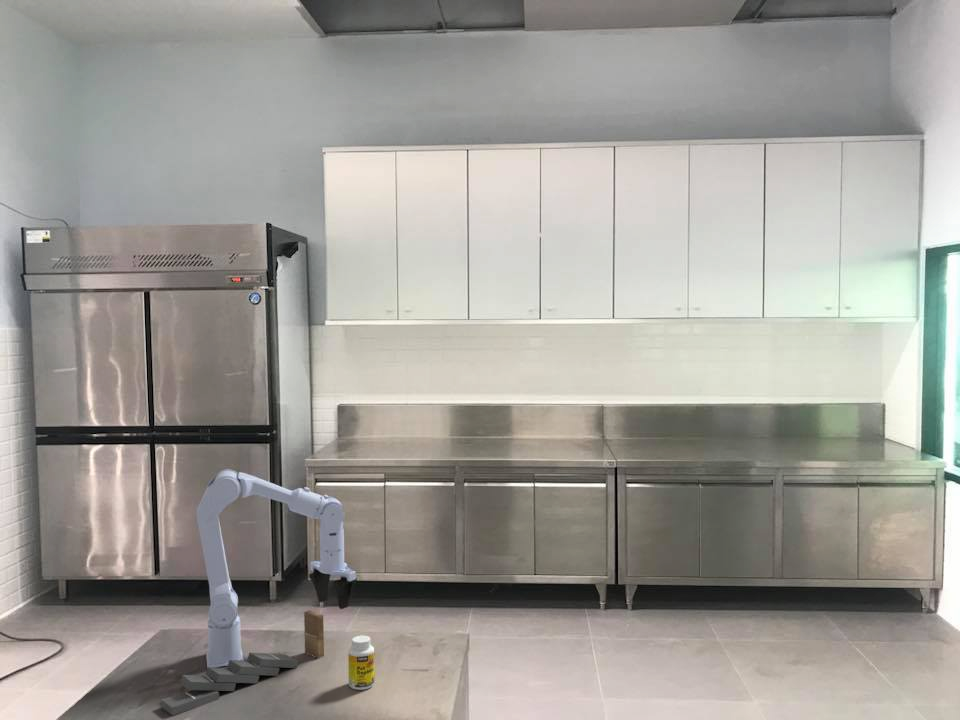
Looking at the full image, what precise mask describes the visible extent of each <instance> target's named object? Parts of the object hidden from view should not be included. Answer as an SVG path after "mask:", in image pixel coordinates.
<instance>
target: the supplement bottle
mask: <svg viewBox="0 0 960 720" xmlns="http://www.w3.org/2000/svg"><path fill="white" fill-rule="evenodd" d="M371 643H372V641H371V637H370V636H368V635H357V636H355V637H353V638H352V639H351V646H350V647H349V648H348V652H347V653H348V685H349V687H350V688H351V689H353V690H358V691H365V690H367V689H370V688H372V687H373V686H374V684H375V648H374V646H373V645H372V644H371Z"/></svg>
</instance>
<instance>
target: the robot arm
mask: <svg viewBox="0 0 960 720" xmlns="http://www.w3.org/2000/svg"><path fill="white" fill-rule="evenodd" d="M310 489H311V488H309V487H306V486H304V487H303V488H301V487H298V488H295V489H293V490H290V489H288V488H286V487H282V486H281V485H277V484H276V483H273V482H270V481H267V480H264V479H262V478H259V477H257V476H255V475H251V474H249V473H246V472H241V471H240V472H239V471H238V472H237V471H235V470H232V469H224V470H221V471H219V472H218V473H217V474H216V475H215V476H214V477H213V478H212V479H211V480H210V481H209V483H208V485H207V487H206V489H205V491H204V494H203V496H202V498H201V500H200V501H199V503H198V506H197V509H196V515H195V516H196V520H197V524H198V531H199V536H200V541H201V547H202V548H201V549H202V552H203V553H202V554H203V557H204V558H203V560H204V564H205V568H206V570H205V571H206V574H207V575H206V576H207V582H208V585H209V586H208V587H209V599H210V607H209V609H208V618H209V619H208V620H207V643H208V645H207V646H208V648H207V651H206V652H205V654H206V655H205V657H206V667H207V668H208V667H216V668H222V667H227V666H228V663H229V660H241V661H245V660H244V655H243V651H242V645H241V644H242V643H241V642H242V641H241V636H242V635H241V617H240V616H239V615H238V613H239V611H238V604H239V597H238V594H237V593H236V591H235V590H234V589H233V586H232V581H231V578H230V573H229V568H228V562H227V556H226V551H225V546H224V541H223V536H222V535H223V534H222V529H221V523H220V517H219V515H220V514H221V513H222V511H223V510H224V509H225V508H226V506H228V505H230V504H232V503H233V502H234V501H236V500H237V499H238V498H239V496H240V494H241V498H242V499H244V498H248V497H250V496H254V495H256V496H259V497H262V498H263V497H264V498H267V499H270V500H273V501H277V502H280V503H284V504H287V506H288V510H289V511H291V512H294V513H296V514H299V515H302V516H306V517H308V518H311V519H314V520H317V519H320V530H319V550H320V551H319V552H320V554H319V557H320V560H319V561H318V560H315V561H311V562H310V571H312V572H311V573H310V574H308V578H309V579H310V581H311V583H312V584H313V587H314V589H315V592H316V596H317V599H318V602H319V603H323V602H326V601H328V598H329V597H328V596H329V583H330V579H331V578H330V577H331V576H334V577H338V578H340V579H337V580H334V581H333V584H334V586H335V590H336V595H337V603H338V608H339V609H340V610H343V609H345V608H348V607H349V603H350V599H351V595H352V591H353V590H354V587H355V585H356V583H357V582H358V579H357V575H356V571H355V570H352V569H351V568H349V567H348V563H346V562H345V531H344V530H345V529H344V520H345V518H346V513H345V510H344V507H343V504H342V503H341V502H340V501H339V500H338V499H336V498H335V497H334V496H329V495H327V494H324V495H321V494H319V493H315V492H313V491H311V490H310Z"/></svg>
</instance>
